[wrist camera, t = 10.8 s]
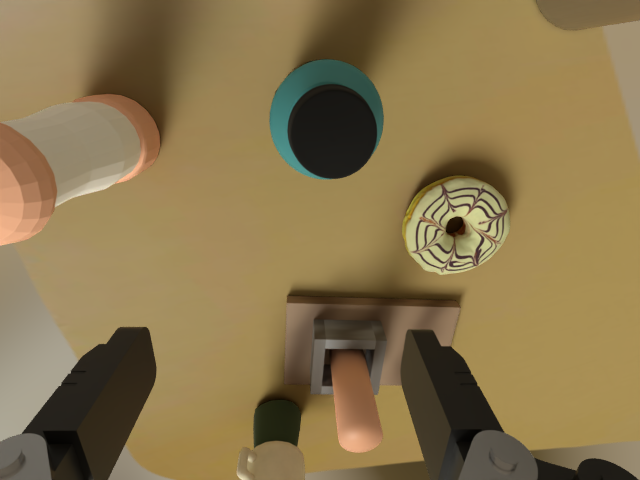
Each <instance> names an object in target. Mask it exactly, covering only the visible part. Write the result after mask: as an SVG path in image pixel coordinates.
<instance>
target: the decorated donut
mask: <svg viewBox="0 0 640 480" xmlns="http://www.w3.org/2000/svg"><path fill="white" fill-rule="evenodd" d="M455 216H459V217H462V219H463V226H462V228H460V230H458V231H457V232H454V233H450V234H449V233H446V225H447V222H448V221H449V220H450V219H451V218H454V217H455ZM509 230H510V216H509V209H508V206H507V204H506V201H505V199H504V197H503V196H502V195H501V194H499V192H498V191H497V190H496V189H494V188H493V186H491V185H489V184H487V183H486V182H484V181H482V180H478V179H476V178H473V177H469V176H461V175H460V176H459V175H458V176H451V177H447V178H444V179H440V180H438V181H435V182H434V183H431V184H430V185H428V186H426V187H425V188H423V189H422V190H421V191H420V192H419V193H418V194H417V195H416V196H415V197H414V199H413V201H412V202H411V204H410V206H409V208H408V209H407V211H406V215H405V217H404V220H403V226H402V234H403V238H404V240H405V247H406V249H407V251H408V253H409V255H410V256H411V257H413V258H414V259H415V261H416V262H418V264H419V265H420V266H422V268H423V269H424V270H426V271H429V272H437V273H438V274H440V275H443V274H450V273H458V272H464V271H468V270H470V269H473V268H475V267H477V266H479V265H481V264H482V263H484V262H485V261H487V260H488V259H490V258H491V257H492V256H493V255H494V254H495V253H496V251H497V250H498V249H499V248H500V247H501V246H502V244H503V243H504V241H505V239H506V236H507V235H508V233H509Z"/></svg>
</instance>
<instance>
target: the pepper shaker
mask: <svg viewBox="0 0 640 480" xmlns="http://www.w3.org/2000/svg"><path fill="white" fill-rule="evenodd" d="M159 149H160V135H159V131H158V129H157V126H156V123H155V121H154V120H153V118H152V117H151V116H150V114H149V113H148V112H147V110H146V109H145V108H143V107H142V106H141V105H140V104H138V103H137V102H136V101H134V100H132V99H129V98H127V97H125V96H122V95H114V94H103V95H93V96H87V97H82V98H78V99H75V100H74V101H73V102H71V103H62V104H58V105H54V106H50V107H48V108H45V109H43V110H41V111H39V112H36V113H34V114H32V115H30V116H27V117H25V118H22V119H16V120H10V121H4V122H0V246H1V245H5V244H10V243H14V242H19V241H23V240H27V239H29V238H30V237H32V236H33V235H35V234H36V233H38V232H40V231H41V230H42V229H43V227H44V226H45V224H46V223H47V221H48V220H49V218H50V217H51V215H52V213H53V212H54V208H55V207H56V206H58V205H60V204H62V203H63V202H65V201H67V200H69V199H71V198H73V197H76V196H80V195H84V194H88V193H92V192H96V191H100V190H104V189H106V188H108V187H109V186H111V185H112V184H114V183H119V182H123V181H128V180H129V179H131V178H132V177H134V176H136V175H137V174H139V173H141V172H142V171H144V170H145V169H147V168H148V167H150V166H151V165H152V164H153V162H154V161H155V160H156V158H157V156H158V153H159Z"/></svg>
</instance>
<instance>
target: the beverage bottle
mask: <svg viewBox="0 0 640 480" xmlns="http://www.w3.org/2000/svg"><path fill="white" fill-rule="evenodd" d="M301 65H302V64H301ZM296 68H297V67H296ZM280 83H281V82H280ZM275 93H276V94H275V95H274V98H273V101H272V105H271V110H270V130H271V135H272V139H273V142H274V144H275V146H276V148H277V150H278V152H279V154H280V155H281V156H282V158H283V159H284V160H285V161H286V162H287V163H288V164H289V165H290V166H291V167H292V168H294V169H295V170H296V171H298V172H300V173H302V174H304V175H306V176H309V177H312V178H317V179H338V178H343V177H347V176H349V175H351V174H353V173H355V172H357V171H358V170H359V169H361V168H362V167H363V166H364V165H365V164H366V163H367V161H368V160H369V159H370V157H371V156H372V154H373V153H374V151H375V150H376V148H377V146H378V144H379V141H380V138H381V135H382V131H383V121H384V115H383V107H382V102H381V99H380V96H379V94H378V92H377V90H376V88H375V86H374V85H373V83H372V82H371V80H370V79H369V78H368V77H367V76H366V75H365V74H364V73H363V72H362V71H360V70H359V69H357V68H356V67H354V66H352V65H350V64H348V63H345V62H342V61H338V60H331V59H323V60H317V59H316V61H314V60H312V61H310V62H307V64H304V65H302V66H301V67H299V68H297V69H296V70H295V69H294V71H293V72H292V73H291V72H290V74H289V75H288V76H287V77H286V78H285V80H284V81H283V82H282V83H281V85H280V86H279V88H278V89H277V91H276V92H275Z"/></svg>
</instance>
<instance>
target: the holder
mask: <svg viewBox="0 0 640 480" xmlns="http://www.w3.org/2000/svg"><path fill="white" fill-rule="evenodd" d="M460 308H461V307H460V306H459V304H458V303H457V302H456V300H423V299H386V298H349V297H313V296H287V313H286V342H285V372H284V384H310V391H311V394H334V392H333V383H332V373H331V364H330V355H329V349H363V350H364V355H365V359H366V363H367V368H368V372H369V376H370V381H371V385H372V389H373V394H374V395H378V391H379V385H402V384H401V376H400V368H401V361H402V355H403V349H404V343H405V337H406V332H407V330H408V329H431V330H433V331H434V333H435V335H436V337H437V339H438V341H439V343H440V345H441V346H451V343H452V339H453V335H454V331H455V327H456V324H457V320H458V316H459V312H460Z"/></svg>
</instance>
